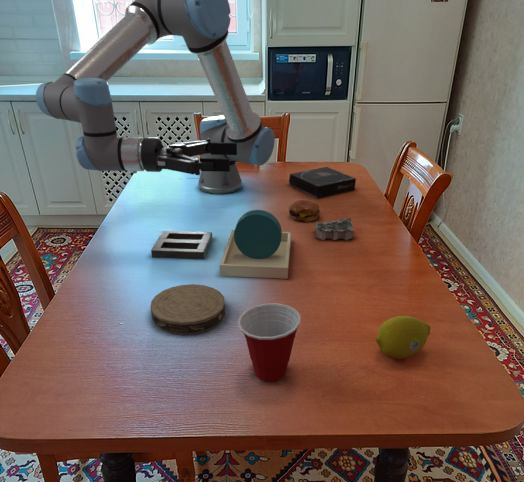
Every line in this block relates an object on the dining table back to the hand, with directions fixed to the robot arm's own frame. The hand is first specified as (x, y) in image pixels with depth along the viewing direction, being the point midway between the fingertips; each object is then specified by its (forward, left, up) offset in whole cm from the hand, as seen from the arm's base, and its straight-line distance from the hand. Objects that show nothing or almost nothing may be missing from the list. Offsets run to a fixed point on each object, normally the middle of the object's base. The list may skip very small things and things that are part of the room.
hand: (233, 156), depth 114 cm
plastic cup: (+43, +24, -26) cm, 56 cm away
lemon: (+29, +46, -26) cm, 60 cm away
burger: (-33, +9, -26) cm, 43 cm away
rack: (0, -16, -26) cm, 30 cm away
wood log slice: (+30, +1, -26) cm, 40 cm away
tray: (-1, +6, -26) cm, 26 cm away
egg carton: (-22, +21, -26) cm, 40 cm away
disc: (-1, +6, -19) cm, 20 cm away
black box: (-62, +7, -26) cm, 68 cm away
